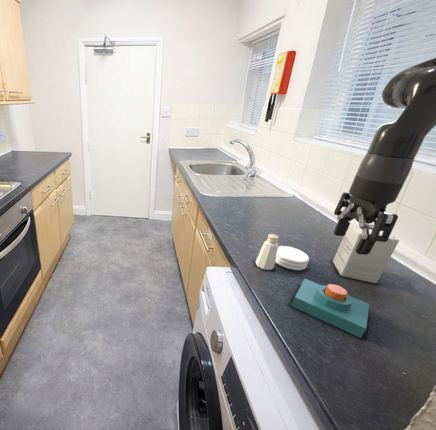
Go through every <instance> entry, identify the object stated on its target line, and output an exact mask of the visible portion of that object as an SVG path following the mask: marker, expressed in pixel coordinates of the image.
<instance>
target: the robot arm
mask: <svg viewBox="0 0 436 430" xmlns="http://www.w3.org/2000/svg"><path fill="white" fill-rule="evenodd" d="M381 100H382V102H383V103H384V105H386V106H387V107H389V108H392V109H397V110H403V111H402V112H401V113H400V115H399V116H398V117H397V119H395V121H392V122H387V123H383V124H381V125H379V126H378V128H377V129H376V131H375V132H374V135H373V137H372V139H371V141H370V144H369V147H368V149H367V151H366V153H365V155H364V157H363V158H362V160H361V161H360V164H359V166H358V167H357V168H358V169H357V171H356V173H355V176H354V178H353V181H352V183H351V184H350V185H351V186H350V188H349V190H348V192H342V194H341V196H340V199H339V200H338V203H337V205H336V207H335V209H334V212H333V215H334V216H337V223H336V225H335V228H334V231H333V235H335V236H336V237H344V236H345V234H346V232H347V230H348V227H349V225H350V222H352V221H353V220H356V223H359V227H360V228H361V229H362V237H363V238H361V240H360V242H359V244H358V246H357V248H356V250H355V252H356V253H358V254H362V255H367V254H369V253H370V252H371V250H372V248H373V246H374V244H375V242H376V241H379V242H387V241H388V238H389V236H390V234H391V233H392V232H393V230H394V228H395V225H396V223H397V221H398V219H399V216H398V214H397V213H389V212H387V206H388V205H390V204H392V203H395V202H396V200H397V198H398V196H399V194H400V192H401V191H402V189H403V187H404V184H405V183H406V181H407V179H408V177H409V174H410V173H411V171H412V168H413V164H414V162H415V158H416V157H417V155H418V152H419V151H420V149H421V147H422V144H423V142H424V140H425V138H426V136H428V134H429V133H430V132H431V131H432V130H433V129H434V128H435V127H436V57H435V58H431V59H428V60H425V61H422V62H420V63H417V64H415V65H412V66H410V67H408V68H405V69H404V70H401V71H400V72H398V73H397V74H395V75H394V76H393V77H391V78H390V79H389V80H388V81H387V82H386V84H385V85H384V87H383V89H382V92H381ZM343 208H344V209H343ZM342 209H343V210H342ZM369 229H371V230H372V232H371V234H369ZM380 231H383V233H382V236H380Z"/></svg>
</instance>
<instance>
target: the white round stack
mask: <svg viewBox="0 0 436 430" xmlns="http://www.w3.org/2000/svg"><path fill="white" fill-rule="evenodd" d="M309 262H310V257H309V255H308V254H307V253H306V252H304V251H303V250H301V249H299V248H296V247H293V246H288V245H278V249H277V255H276V260H275V264H277V265H278V266H280V267H282V268H285V269H288V270H292V271H303V270H306V268H307V267H308V265H309Z"/></svg>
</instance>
